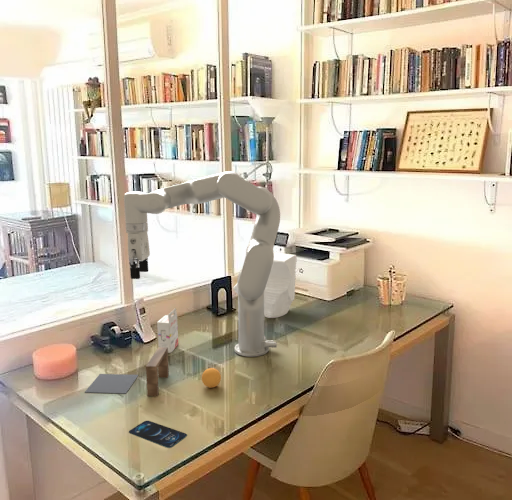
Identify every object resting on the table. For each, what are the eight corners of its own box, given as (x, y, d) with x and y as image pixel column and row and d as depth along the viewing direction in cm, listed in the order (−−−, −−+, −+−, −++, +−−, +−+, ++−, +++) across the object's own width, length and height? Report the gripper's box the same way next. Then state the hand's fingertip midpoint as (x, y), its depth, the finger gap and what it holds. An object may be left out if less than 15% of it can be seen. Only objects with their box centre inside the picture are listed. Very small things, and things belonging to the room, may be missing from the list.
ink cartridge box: (166, 343, 206) (164, 306, 202) (178, 344, 205) (177, 307, 201) (157, 352, 197) (156, 314, 194) (170, 353, 196) (169, 314, 193)
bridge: (168, 374, 179) (167, 347, 177) (157, 396, 164) (155, 366, 162) (159, 374, 179) (158, 347, 177) (147, 396, 164) (145, 366, 162)
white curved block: (279, 321, 229) (280, 262, 223) (231, 309, 245) (230, 254, 240) (307, 309, 245) (307, 254, 240) (260, 298, 261) (259, 246, 256)
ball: (222, 382, 173) (222, 365, 171) (219, 391, 167) (219, 373, 166) (203, 382, 173) (203, 364, 172) (200, 390, 167) (199, 372, 166)
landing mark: (138, 375, 178) (138, 374, 178) (125, 393, 166) (125, 393, 166) (99, 374, 179) (99, 373, 179) (84, 392, 167) (84, 391, 167)
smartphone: (146, 419, 151) (188, 434, 143) (146, 421, 151) (188, 436, 143) (126, 432, 144) (169, 448, 136) (126, 434, 144) (169, 450, 136)
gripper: (139, 231, 179) (142, 281, 183) (154, 223, 196) (156, 269, 200) (117, 231, 180) (121, 281, 184) (134, 223, 197) (137, 269, 201)
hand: (139, 275), depth 192 cm, fingers open, 9 cm apart
